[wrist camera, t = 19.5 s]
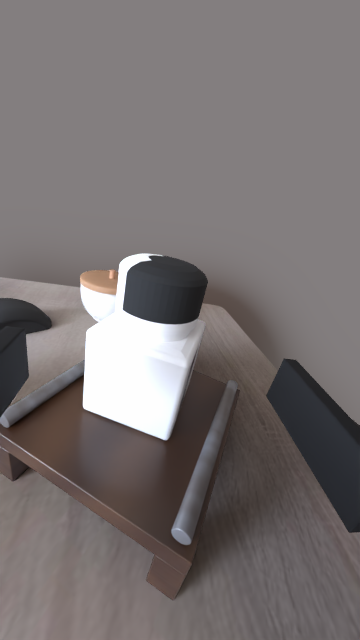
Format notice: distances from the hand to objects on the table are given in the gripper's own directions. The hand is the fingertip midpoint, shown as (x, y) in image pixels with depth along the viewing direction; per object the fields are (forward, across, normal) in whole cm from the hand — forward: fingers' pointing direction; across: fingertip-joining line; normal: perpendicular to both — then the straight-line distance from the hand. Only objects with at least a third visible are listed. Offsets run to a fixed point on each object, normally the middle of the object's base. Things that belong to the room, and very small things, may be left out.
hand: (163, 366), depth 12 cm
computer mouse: (+25, -20, -14) cm, 35 cm away
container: (+7, 0, -9) cm, 12 cm away
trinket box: (+33, -7, -14) cm, 37 cm away
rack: (+6, 0, -14) cm, 15 cm away
